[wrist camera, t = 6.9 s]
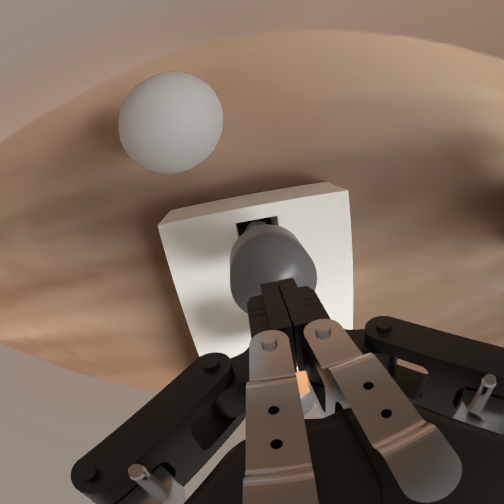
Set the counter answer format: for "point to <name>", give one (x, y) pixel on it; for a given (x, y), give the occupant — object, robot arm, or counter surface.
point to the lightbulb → (170, 122)
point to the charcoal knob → (267, 261)
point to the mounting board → (220, 245)
